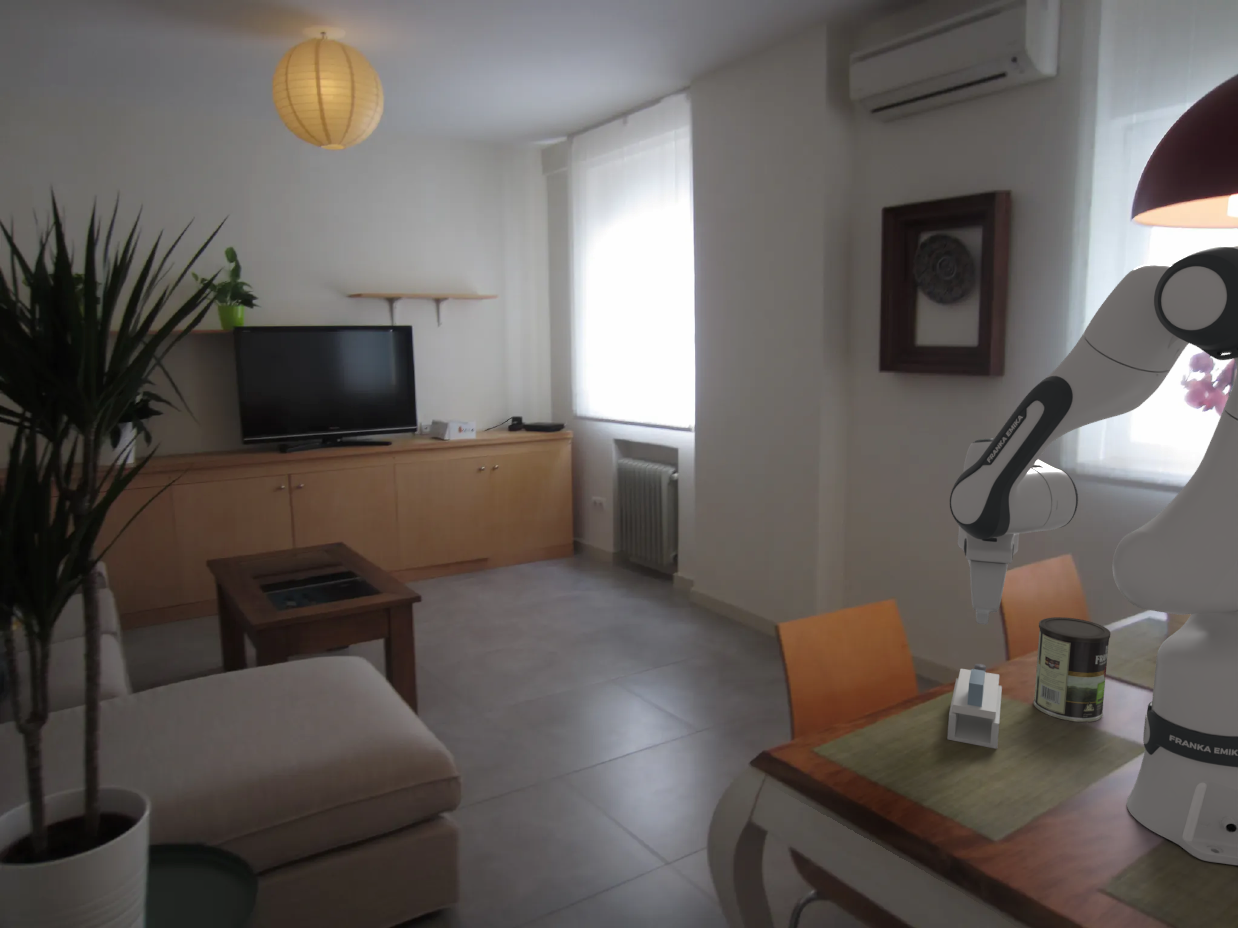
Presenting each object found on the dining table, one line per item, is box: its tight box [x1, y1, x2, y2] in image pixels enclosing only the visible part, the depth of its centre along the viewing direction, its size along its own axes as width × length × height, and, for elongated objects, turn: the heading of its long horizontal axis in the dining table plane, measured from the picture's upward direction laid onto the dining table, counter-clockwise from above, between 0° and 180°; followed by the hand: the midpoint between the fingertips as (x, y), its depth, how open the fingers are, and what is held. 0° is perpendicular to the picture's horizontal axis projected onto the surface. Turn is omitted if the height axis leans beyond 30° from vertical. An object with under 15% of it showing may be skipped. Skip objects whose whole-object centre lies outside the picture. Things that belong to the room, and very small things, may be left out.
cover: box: [952, 663, 1000, 720], centre depth 136 cm, size 6×17×9 cm, turn 154°
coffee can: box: [1033, 617, 1111, 723], centre depth 140 cm, size 10×10×14 cm
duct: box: [947, 678, 1003, 750], centre depth 135 cm, size 7×15×4 cm, turn 155°
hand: (981, 621), depth 137 cm, fingers closed
